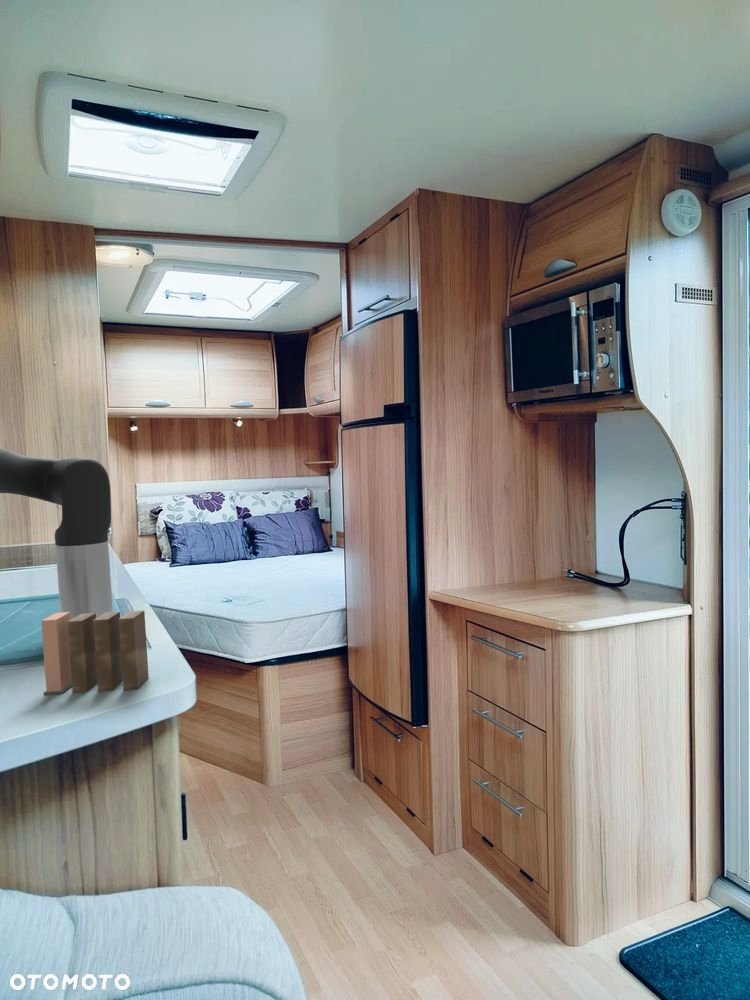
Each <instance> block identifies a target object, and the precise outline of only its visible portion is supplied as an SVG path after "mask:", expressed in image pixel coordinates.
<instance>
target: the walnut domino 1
mask: <svg viewBox="0 0 750 1000" xmlns="http://www.w3.org/2000/svg"><path fill="white" fill-rule="evenodd" d="M94 619H96V613H85V614H80V615H78V616H77V617H75V618H73V619H71V620H69V621H68V635H69V649H70V664H71V678H72V687H71V690H72V691H71V692H72V693H74V694H76V693H77V694H78V693H89V692H90V690H92V689H93V688H94V687H95V686H97V670H96V655H95V640H94V625H93V620H94Z"/></svg>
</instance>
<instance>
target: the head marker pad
mask: <svg viewBox="0 0 750 1000" xmlns="http://www.w3.org/2000/svg"><path fill="white" fill-rule="evenodd" d="M70 688H71V689H72V683H71V684H69V685H68V686H67V687H66V688H65V689H63V690H62V691H56V692H46V690H45V691H44V692H43V696H49V695H64V693H67V691H68V690H70Z"/></svg>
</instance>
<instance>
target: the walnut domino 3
mask: <svg viewBox="0 0 750 1000" xmlns="http://www.w3.org/2000/svg"><path fill="white" fill-rule="evenodd" d="M119 629H120V645H121V660H122V675H123V681H122V686H123V691H128V690H129V691H132V690H139V689H140V688H141V687H142V686H143V685H144V683H146V681H147V680H148V679H149V677H150V676H149V662H148V647H147V644H148V643H147V631H146V618H145V610H143V609H142V610H130V611H128V612H127V613H125V614H123V615H122V616H120V618H119Z"/></svg>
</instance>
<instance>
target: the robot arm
mask: <svg viewBox="0 0 750 1000" xmlns="http://www.w3.org/2000/svg"><path fill="white" fill-rule="evenodd" d="M109 477H110V476H109V475H108V472H107V469H106V468H105V467H104V465H103V464H102V463H100V462H99V461H98V460H96V459H94V458H89V457H76V458H64V459H63V458H61V459H60V458H48V457H47V458H46V457H39V456H38V457H37V456H31V455H25V454H20V453H17V452H15V451H11V450H9V449H7V448H5V447H1V446H0V494H11V495H12V494H14V495H19V496H24V497H28V498H33V499H37V500H40V501H45V502H48V503H51V504H55V505H59V506H61V521H60V524H59V527H57V528H56V530H55V531H54V542H55V543H54V545H55V556H56V557H55V559H56V570H57V571H56V572H57V584H58V587H57V588H58V600H59V613H61V612H70V613H71V619H73V618H75V617H77V616H78V615H80V614H85V613H96V618H98V617H99V616H101V615H103V614H104V613H106V612H114V610H113V609H114V606H113V593H112V592H113V591H112V578H111V563H110V562H111V561H110V551H109V550H110V548H109V531H110V528H111V524H112V498H111V495H112V494H111V482H110V481H111V480H110V478H109Z"/></svg>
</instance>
